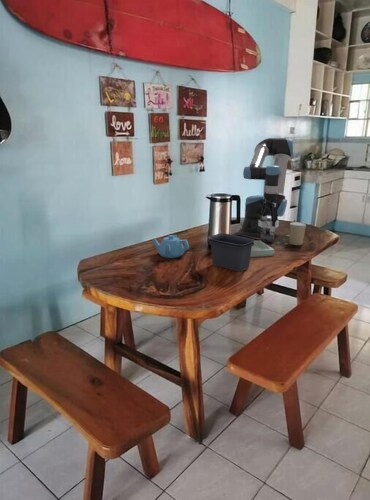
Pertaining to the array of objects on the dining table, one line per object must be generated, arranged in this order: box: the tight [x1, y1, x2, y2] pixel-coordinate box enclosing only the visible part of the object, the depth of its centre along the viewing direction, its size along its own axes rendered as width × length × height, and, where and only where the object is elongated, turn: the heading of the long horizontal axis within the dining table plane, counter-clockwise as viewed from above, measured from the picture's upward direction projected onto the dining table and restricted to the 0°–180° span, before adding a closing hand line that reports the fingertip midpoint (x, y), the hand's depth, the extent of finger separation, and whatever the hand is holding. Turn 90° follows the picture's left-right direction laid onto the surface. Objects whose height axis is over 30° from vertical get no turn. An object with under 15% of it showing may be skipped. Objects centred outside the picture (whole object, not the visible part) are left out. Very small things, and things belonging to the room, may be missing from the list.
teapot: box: [152, 234, 190, 259], centre depth 196 cm, size 15×15×11 cm
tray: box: [250, 239, 276, 258], centre depth 205 cm, size 19×19×3 cm
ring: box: [258, 217, 280, 229], centre depth 221 cm, size 11×11×4 cm
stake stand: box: [260, 228, 275, 245], centre depth 223 cm, size 8×8×12 cm
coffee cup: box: [288, 221, 307, 246], centre depth 220 cm, size 9×9×12 cm
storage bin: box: [208, 232, 255, 272], centre depth 180 cm, size 21×16×14 cm
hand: (268, 229), depth 222 cm, fingers closed on ring, 11 cm apart
